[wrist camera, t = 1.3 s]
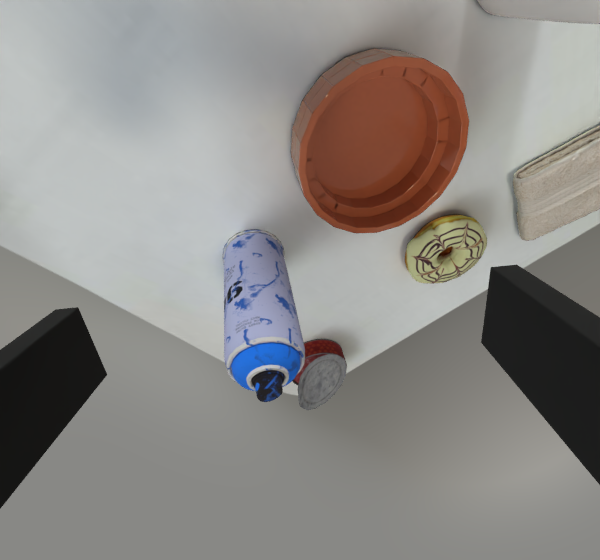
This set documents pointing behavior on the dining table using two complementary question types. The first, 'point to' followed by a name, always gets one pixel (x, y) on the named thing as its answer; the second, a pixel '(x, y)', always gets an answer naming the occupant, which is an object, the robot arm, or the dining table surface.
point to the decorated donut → (445, 249)
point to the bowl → (378, 139)
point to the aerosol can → (260, 315)
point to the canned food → (320, 373)
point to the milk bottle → (546, 10)
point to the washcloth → (559, 186)
